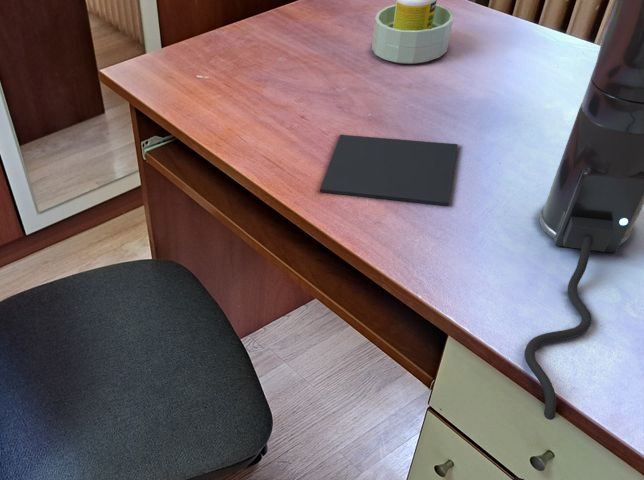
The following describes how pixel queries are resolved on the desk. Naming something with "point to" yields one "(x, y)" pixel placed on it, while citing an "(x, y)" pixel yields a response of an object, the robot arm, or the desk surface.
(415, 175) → the mat
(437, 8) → the bowl
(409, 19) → the pill bottle
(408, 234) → the desk surface
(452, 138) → the desk surface
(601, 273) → the desk surface
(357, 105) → the desk surface
